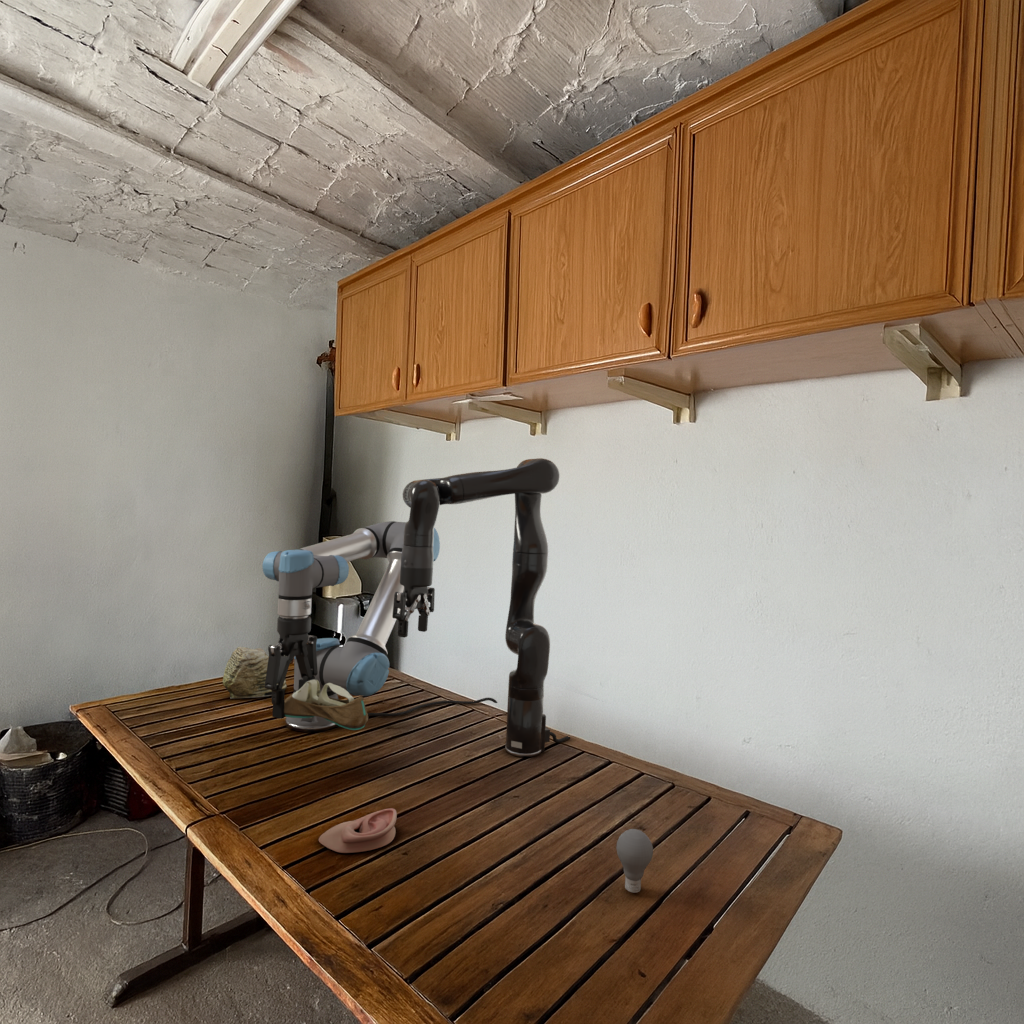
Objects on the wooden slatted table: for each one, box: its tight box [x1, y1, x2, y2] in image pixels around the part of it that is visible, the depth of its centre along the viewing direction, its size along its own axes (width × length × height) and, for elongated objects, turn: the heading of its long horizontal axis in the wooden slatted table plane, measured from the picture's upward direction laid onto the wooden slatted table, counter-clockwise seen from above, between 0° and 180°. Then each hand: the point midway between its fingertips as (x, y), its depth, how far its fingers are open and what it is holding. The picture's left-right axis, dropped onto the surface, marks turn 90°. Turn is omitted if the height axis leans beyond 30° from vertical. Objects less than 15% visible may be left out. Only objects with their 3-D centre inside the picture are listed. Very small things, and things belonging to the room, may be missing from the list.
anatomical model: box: [318, 807, 398, 854], centre depth 118 cm, size 13×4×12 cm
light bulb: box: [615, 828, 654, 894], centre depth 106 cm, size 6×6×10 cm
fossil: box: [222, 646, 288, 699], centre depth 198 cm, size 9×18×15 cm, turn 132°
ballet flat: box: [284, 680, 369, 731], centre depth 146 cm, size 8×24×9 cm, turn 66°
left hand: (291, 711), depth 150 cm, fingers closed on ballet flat, 7 cm apart
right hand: (412, 633), depth 149 cm, fingers open, 8 cm apart
